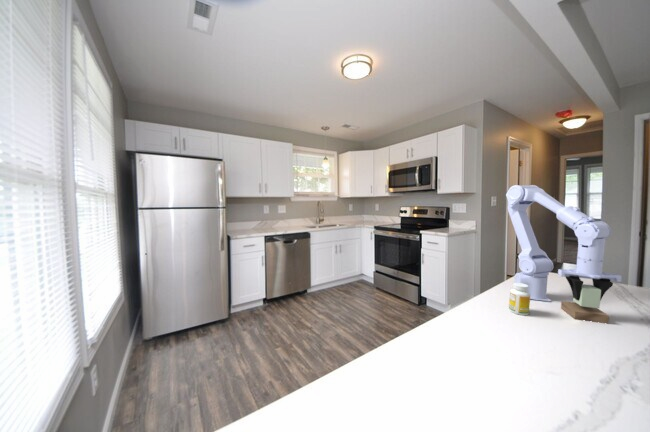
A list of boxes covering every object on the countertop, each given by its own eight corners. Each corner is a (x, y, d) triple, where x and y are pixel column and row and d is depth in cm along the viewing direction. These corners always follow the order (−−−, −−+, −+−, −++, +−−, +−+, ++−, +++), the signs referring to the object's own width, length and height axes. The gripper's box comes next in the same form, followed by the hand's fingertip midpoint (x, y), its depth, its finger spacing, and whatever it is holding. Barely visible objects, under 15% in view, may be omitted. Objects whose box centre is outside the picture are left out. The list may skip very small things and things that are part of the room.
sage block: (581, 306, 78) (582, 288, 78) (573, 300, 82) (574, 283, 82) (599, 308, 77) (601, 289, 76) (590, 302, 81) (591, 285, 80)
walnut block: (574, 320, 78) (575, 311, 78) (560, 309, 85) (561, 301, 85) (608, 325, 75) (609, 315, 75) (590, 313, 83) (591, 304, 82)
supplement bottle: (506, 311, 84) (508, 284, 83) (511, 306, 87) (512, 280, 86) (526, 317, 79) (528, 288, 78) (530, 312, 83) (532, 284, 82)
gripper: (567, 260, 77) (564, 301, 78) (631, 264, 72) (626, 308, 73) (556, 254, 84) (553, 293, 85) (613, 258, 78) (609, 299, 80)
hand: (586, 299), depth 79 cm, fingers closed on sage block, 4 cm apart
